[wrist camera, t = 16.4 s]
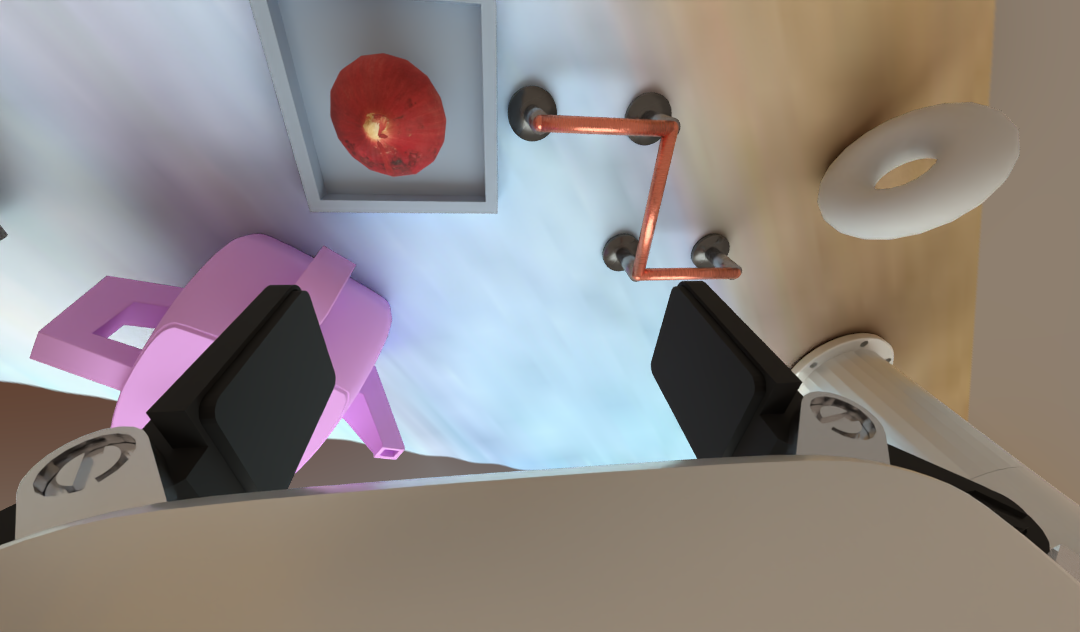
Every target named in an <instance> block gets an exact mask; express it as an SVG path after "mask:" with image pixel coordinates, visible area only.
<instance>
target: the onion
mask: <svg viewBox="0 0 1080 632" xmlns="http://www.w3.org/2000/svg"><path fill="white" fill-rule="evenodd" d="M330 117H331V120H332V123H333V126H334V128H335V131H336V134H337V137H338V139H339V140H340V142H341V143H342V144H343V146H344V147H345V148H346V150H347V151H348V152H349V153H350V155H351V156H352V157H353V158H355V159H356V160H357V161H359V162H360V163H361V164H363V165H364V166H365V167H367V168H368V169H369V170H372V171H375V172H378V173H382V174H385V175H389V176H392V177H396V176H405V175H413V174H417V173H418V172H420V171H421V170H422V169H424V168H425V167H427V166H428V165H429V164H431V163H432V162H434V160H435V159H436V157H437V155H438V153H439V151H440V149H441V147H442V145H443V143H444V140H445V130H446V116H445V112H444V108H443V104H442V100H441V97H440V96H439V94H438V92H437V91H436V89H435V87H434V86H433V84H432V83H431V81H430V79H429V78H428V76H427V75H426V74H424V73H423V72H422V71H420V70H419V69H418V68H417V67H415V66H414V65H413V64H412V63H410V62H409V61H408V60H406V59H402V58H399V57H395V56H392V55H389V54H385V53H380V54H371V55H363V56H360V57H359V58H357V59H356V60H354V61H353V62H352V63H350V64H349V65H347V66H346V67H344V68H343V69H342V70H341V71H340V72H339V74H338V76H337V78H336V80H335V82H334V84H333V86H332V89H331V91H330Z"/></svg>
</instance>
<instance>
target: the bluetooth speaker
mask: <svg viewBox="0 0 1080 632" xmlns="http://www.w3.org/2000/svg"><path fill="white" fill-rule="evenodd" d="M7 235H8V234H7V233H6V232H5V230H4V229H3V228H2V227H1V225H0V240H2V239H4V238H5V237H6V236H7Z"/></svg>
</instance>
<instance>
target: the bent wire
mask: <svg viewBox="0 0 1080 632" xmlns="http://www.w3.org/2000/svg"><path fill="white" fill-rule="evenodd" d="M671 115H672V113H671V107H670V104H669V102H668V101H667V99H666V98H665V97H664V96H662V95H660V94H657V93H652V92H651V93H645V94H642V95H640V96H638V97H637V98H636V99H634V101H633V102H632V103H631V104H630V105H629V107H628V109H627V111H626V114H625V118H607V117H585V116H564V115H557V108H556V104H555V102H554V100H553V98H552V96H551V95H550V94H549V93H548V92H547V91H546V90H544V89H543V88H540V87H538V86H526V87H523V88H521V89H520V90H518V91H517V92H516V93H515V94H514V95H513V97H512V99H511V101H510V103H509V107H508V119H509V123H510V125H511V128H512V129H513V131H514V132H515V133H516V134H517V135H518V136H519V137H520V138H522V139H524V140H527V141H538V140H541V139H543V138H545V137H546V136H547V135H548V134H549V133H550V132H555V133H580V134H606V135H627V136H628V137H629V138H630V139H631V140H632V141H633V142H635V143H637V144H640V145H650V144H653V143H655V142H657V141H658V140H659V139H661V140H660V145H659V150H658V154H657V159H656V163H655V168H654V173H653V177H652V182H651V187H650V191H649V196H648V200H647V205H646V210H645V214H644V219H643V223H642V228H641V233H640V237H639V241H638V240H637V239H636V238H635V237H634V236H632V235H629V234H620V235H617V236H615V237H613V238H611V239H610V240H609V241H608V242H607V243H606V245H605V247H604V249H603V260H604V262H605V264H606V265H607V266H608V267H609V268H610V269H612V270H614V271H624V270H625V271H626V273H627V274H628V276H629V277H630V279H631V280H632V281H635V282H637V281H644V280H697V279H730V280H734V279H736V278H738V277H739V276H740V275H741V273H742V268H741V267H740V266H738V265H737V264H736V263H735V262H734V261H732V260H731V259H730V258H729V257H727V255H728V253H729V247H730V246H729V242H728V240H727V239H726V238H724V237H723V236H722V235H719V234H710V235H707V236H705V237H703V238H702V239H700V240H699V241H698V242H697V243H696V245H695V246H694V248H693V250H692V253H691V259H692V262H693V263H694V264H695V265H696V266H697V267H698V268H648V269H645V268H646V264H647V260H648V255H649V251H650V247H651V243H652V238H653V234H654V230H655V226H656V222H657V217H658V213H659V209H660V205H661V201H662V196H663V192H664V188H665V184H666V180H667V175H668V171H669V167H670V163H671V159H672V154H673V150H674V146H675V142H676V138H677V135H678V133H679V131H680V122H679V120H678V119H676V118H673V117H671ZM715 267H716V268H715Z"/></svg>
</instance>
